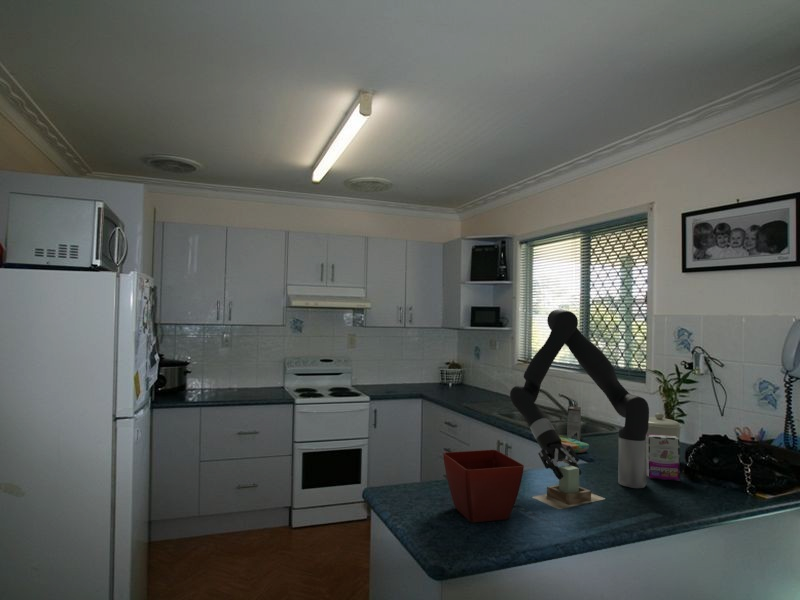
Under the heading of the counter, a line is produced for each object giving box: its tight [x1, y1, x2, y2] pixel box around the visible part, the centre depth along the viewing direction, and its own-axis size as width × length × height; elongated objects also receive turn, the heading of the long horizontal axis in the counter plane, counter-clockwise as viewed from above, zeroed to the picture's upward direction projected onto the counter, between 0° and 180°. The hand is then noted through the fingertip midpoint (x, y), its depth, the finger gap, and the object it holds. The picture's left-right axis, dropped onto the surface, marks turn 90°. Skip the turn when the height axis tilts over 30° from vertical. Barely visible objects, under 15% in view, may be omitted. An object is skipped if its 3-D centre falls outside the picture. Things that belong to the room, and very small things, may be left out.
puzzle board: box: [531, 484, 606, 510], centre depth 167 cm, size 22×12×4 cm, turn 120°
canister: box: [647, 412, 683, 439], centre depth 224 cm, size 18×18×21 cm
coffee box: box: [566, 405, 582, 442], centre depth 262 cm, size 9×6×16 cm
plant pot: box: [442, 449, 525, 524], centre depth 155 cm, size 19×19×17 cm
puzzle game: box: [558, 434, 590, 454], centre depth 241 cm, size 12×5×20 cm
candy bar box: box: [646, 434, 681, 482], centre depth 197 cm, size 11×5×16 cm, turn 76°
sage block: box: [558, 464, 580, 494], centre depth 167 cm, size 5×4×10 cm
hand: (570, 476), depth 166 cm, fingers open, 8 cm apart
